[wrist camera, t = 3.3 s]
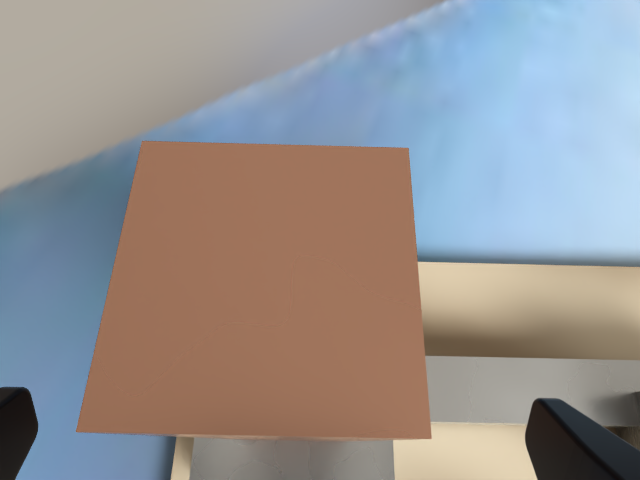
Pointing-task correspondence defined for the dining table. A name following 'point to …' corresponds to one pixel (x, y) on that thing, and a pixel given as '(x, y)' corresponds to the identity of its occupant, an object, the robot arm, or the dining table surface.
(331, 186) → the slider
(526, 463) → the press base
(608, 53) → the dining table surface
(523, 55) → the dining table surface
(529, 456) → the robot arm
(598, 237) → the dining table surface
